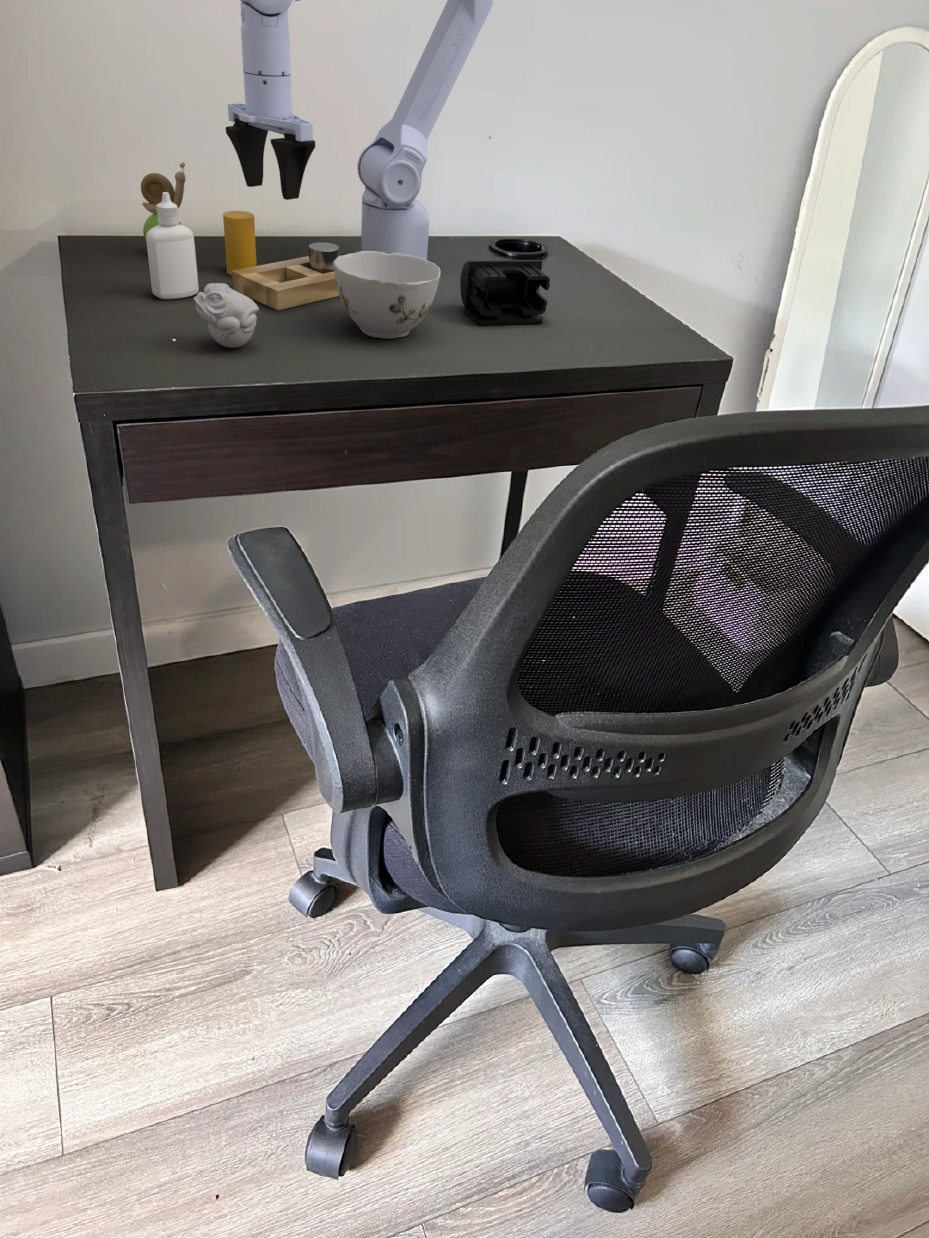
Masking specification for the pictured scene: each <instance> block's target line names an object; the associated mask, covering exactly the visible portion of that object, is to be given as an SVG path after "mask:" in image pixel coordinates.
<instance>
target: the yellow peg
mask: <svg viewBox="0 0 929 1238" xmlns="http://www.w3.org/2000/svg"><path fill="white" fill-rule="evenodd" d="M222 220H223V234H224V246H225V247H224V248H225V249H224V250H225V251H224V252H225V263H226V265H225V266H226V273H227V274H228V275H229V276H232V271H234V270H239V269H245V268H250V267H255V266H258V265H257V264H258V263H257V246H256V244H257V243H256V225H255V215H254V213H253V212H250V211H244V210H228V211H225V212H223V213H222Z"/></svg>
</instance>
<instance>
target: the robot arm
mask: <svg viewBox="0 0 929 1238" xmlns="http://www.w3.org/2000/svg"><path fill="white" fill-rule="evenodd" d="M239 1H240V18H241V26H240V37H241V55H242V71H243V88H244V103H240V102H238V103H237V102H236V103H228V104H227V115H228V116H227V118H228V121H229V122H232V123H233V124H232V125H229V126H228V125H227V126H226V127H225V133H226V135H227V137H228V139H229V141H230V142H231V144H232V146H233V148H234V151H235V153H236V155H237V158H238V161H239V165H240V168H241V172H242V174H243V178H244V182H245V185H246V187H248V188H253V187H260V186H263V182H264V155H265V148H266V142H267V137H268V134H269V132H273V133H276V134H279V135H283V137H278V138H270V144H271V146H272V149H273V152H274V156H275V159H276V161H277V162H276V163H277V166H278V172H279V181H280V189H281V190H280V191H281V195H282V199H284V200H286V201H289V200H295V199H299V197H300V193H301V189H302V185H303V179H304V174H305V172H306V168H307V165H308V162H309V160H310V158H311V156H312V154H313V152H314V150H315V149H316V140H314V133H313V132H314V127H313V123H312V122H310V121H308V120H307V121H306V120H304V119H303V118H301V117H299V116H297V115H295V114H293V108H292V107H293V103H292V102H293V101H292V99H293V98H292V72H291V71H292V70H291V42H290V41H291V40H290V30H289V8H290V7H291V5H292V4H293V1H295V2H301V0H239ZM493 4H494V0H447V1H446V2H445V5H444V7H443V9H442V11H441V14H440V15H439V18H438V20H437V21H436V24H435V25H434V29H433V31H432V32H431V35H430V37H429V39H428V41H427V43H426V45H425V47H424V49H423V52H422V54H421V55H420V58H419V60H418V62H417V64H416V67H415V68H414V71H413V73H412V74H411V77H410V79H409V81H408V84H407V86H406V88H405V90H404V92H403V94H402V97H401V98H400V100H399V103H398V105H397V107H396V109H395V111H394V114H393V116H392V117H391V119H390V120H389V121H388V122H386V124H384V125H383V126H382V127H381V128H380V129H379V130H378V132H377V135H376V136H375V139H373V141H372V142H371V143H370V144H369V145H367V146H366V147H365V148H364V149H362V152H361V153H360V155H359V156H358V160H357V166H356V167H357V168H356V170H357V175H358V178H359V180H360V182H361V184H362V185H363V186H364V191H363V193H362V195H361V200H362V201H361V227H360V228H361V230H360V232H361V234H360V235H361V236H360V237H361V238H360V251H376V252H383V253H386V254H393V253H400V254H406V255H413V256H417V257H420V258H423V259H425V260H427V261H428V249H429V234H430V232H429V231H430V219H429V214H428V212H427V211H428V210H427V209H426V207H425V206H424V205H423V203H422V202H421V201H419V200H417V199H416V198H418V197H417V196H418V195H419V193H420V191H421V187H422V177H423V176H422V175H423V171H424V168H425V166H426V163H427V161H428V139H429V137H430V134H431V133H432V131H433V129H434V127H435V125H436V123H437V121H438V119H439V116H440V115H441V112H442V111H443V108H444V107H445V105H446V102H447V100H448V99H449V96H450V95H451V92H452V90H453V88H454V86H455V84H456V82H457V80H458V77H459V75H460V73H461V71H462V69H463V67H464V65H465V63H466V62H467V59H468V57H469V55H470V53H471V51H472V49H473V47H474V45H475V42H476V41H477V39H478V36H479V34H480V32H481V30H482V28H483V27H484V24H485V22H486V21H487V18H488V17H489V14H490V12H491V10H492V7H493Z"/></svg>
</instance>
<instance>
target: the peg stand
mask: <svg viewBox="0 0 929 1238" xmlns="http://www.w3.org/2000/svg"><path fill="white" fill-rule="evenodd" d="M231 280H232V281H231V282H232V284H231V285H232V289H233V290H235V291H237V292H238V293H241V294H243V295H245V296H247V297H248V298H250V299H251V300H253V301H255V302H258V303H260V304H262V305H265V306H267V307H269V308H271V309H274V310H275V311H282V310H285V309H290V308H294V307H299V306H303V305H307V304H311V303H315V302H319V301H324V300H328V299H333V298H336V297H340V296H339V293H338V289H337V285H336V281H335V274H334V272H329V273H324V274H321V273H319V272H316V271H314V270H311V269H309V255H305V256H302V257H296V258H291V259H287V260H281V261H276V262H270V263H267V264H260V265H257V266H255V267H250V268H245V269H239V270H234V271H232V275H231Z"/></svg>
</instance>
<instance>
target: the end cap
mask: <svg viewBox="0 0 929 1238" xmlns="http://www.w3.org/2000/svg"><path fill="white" fill-rule="evenodd" d="M542 267H543V262H542V261H541V260H540V259H514V260H513V259H510V260H505V259H503V260H501V259H497V260H493V259H492V260H491V259H490V260H467V261H466V262H464V264H463V266H462V269H461V273H460V279H459V280H460V281H459V282H460V284H459V287H460V288H459V289H460V290H459V291H460V298H461V302H462V305H463V307H464V309H465V310H466V312H467V314H468V316H469V317H470V319H472V320H473V321H474V322H475V323H476V324H477V325H478V326H508V325H509V326H511V325H512V326H513V325H539V324H540V325H541V324H543V322H544V317H543V316H542V315H543V314H545V312H546V310H547V305H548V300H547V298H546V297H544V296H543V295H542V294H541V293H540V288H542V289H543V290H544V291H549V289H550V286H551V284H550V281H551V279H550V277H549V276H548V275H547V274H545V273H544V271H542Z"/></svg>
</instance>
